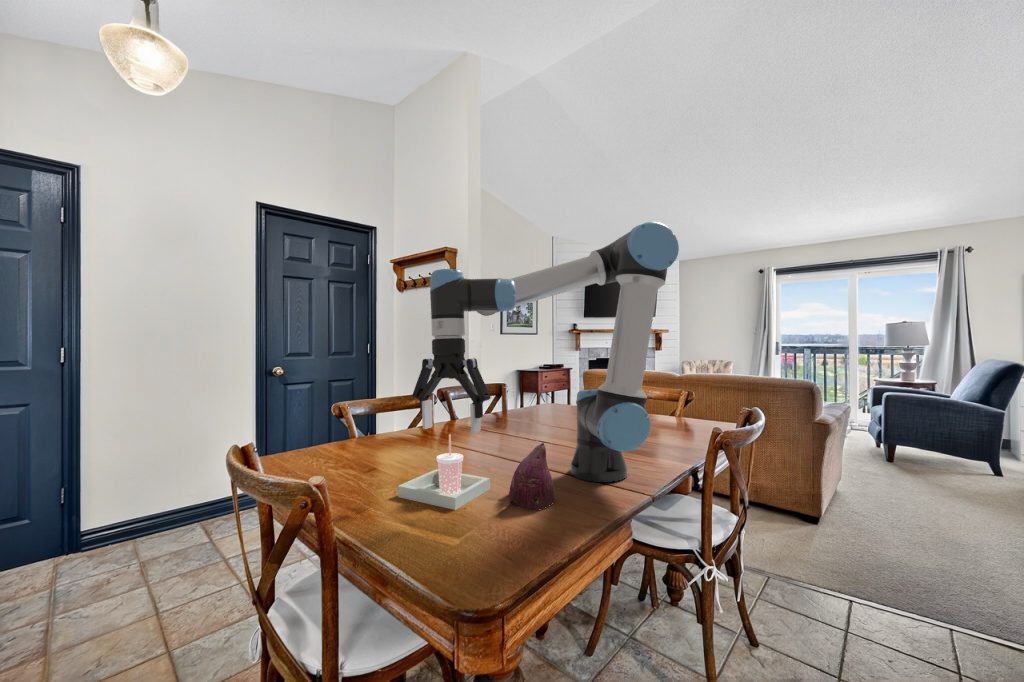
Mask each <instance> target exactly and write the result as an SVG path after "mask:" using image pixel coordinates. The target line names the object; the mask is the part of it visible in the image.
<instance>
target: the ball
mask: <svg viewBox="0 0 1024 682" xmlns="http://www.w3.org/2000/svg"><path fill="white" fill-rule="evenodd" d="M433 483H434V484H435V485H436V486H439V473H436V474H435V475H434V477H433Z"/></svg>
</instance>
